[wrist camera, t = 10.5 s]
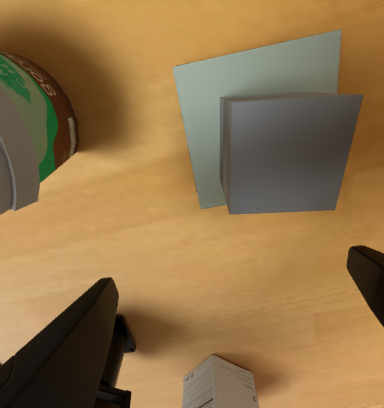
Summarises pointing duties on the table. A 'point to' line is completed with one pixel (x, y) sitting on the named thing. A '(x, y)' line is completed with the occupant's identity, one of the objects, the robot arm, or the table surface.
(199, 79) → the sage slab
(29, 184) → the food container
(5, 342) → the table surface
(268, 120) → the grey cube
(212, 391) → the supplement box
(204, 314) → the table surface
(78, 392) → the robot arm
